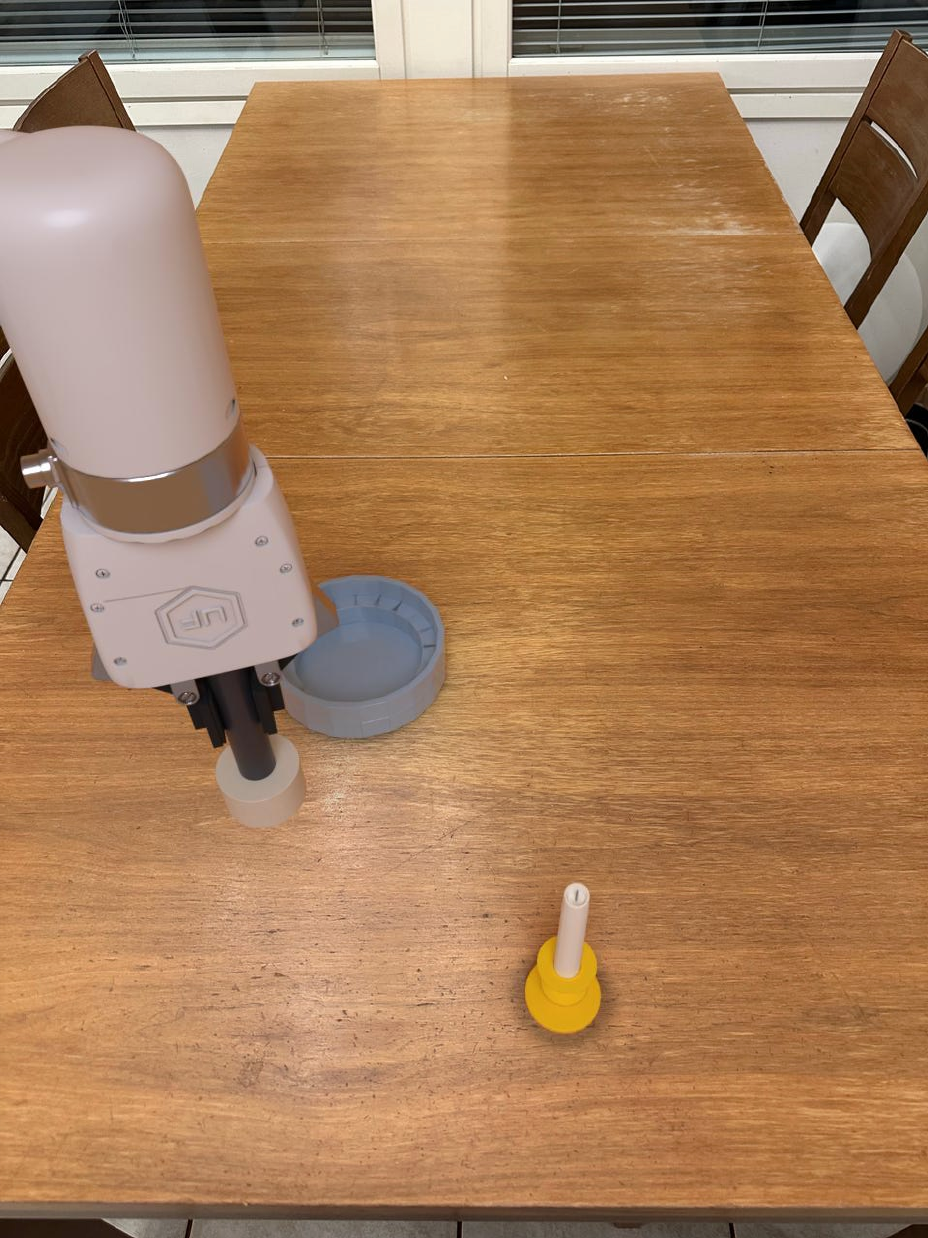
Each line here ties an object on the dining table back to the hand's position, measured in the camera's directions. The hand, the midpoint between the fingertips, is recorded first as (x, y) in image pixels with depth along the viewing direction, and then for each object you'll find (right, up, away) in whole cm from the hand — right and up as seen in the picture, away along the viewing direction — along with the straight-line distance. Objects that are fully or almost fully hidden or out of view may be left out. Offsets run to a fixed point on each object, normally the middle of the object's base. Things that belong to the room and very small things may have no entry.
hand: (242, 719), depth 53 cm
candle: (+19, -20, +12) cm, 31 cm away
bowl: (+3, +1, +32) cm, 32 cm away
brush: (0, -5, +6) cm, 8 cm away
